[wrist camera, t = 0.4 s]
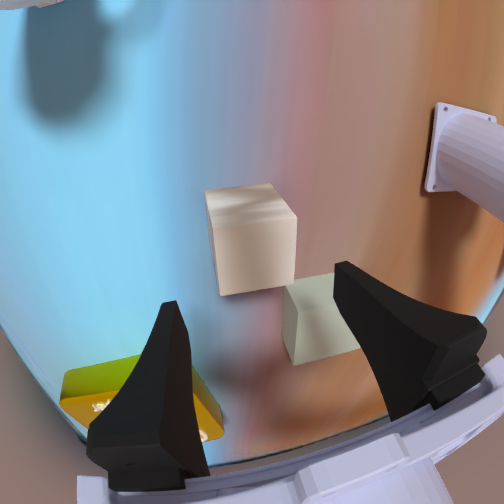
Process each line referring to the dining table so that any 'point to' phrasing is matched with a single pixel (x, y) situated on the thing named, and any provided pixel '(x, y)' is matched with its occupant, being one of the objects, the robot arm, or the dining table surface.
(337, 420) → the dining table surface
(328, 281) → the sage base block
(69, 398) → the element tile
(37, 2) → the cup
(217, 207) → the ash block
